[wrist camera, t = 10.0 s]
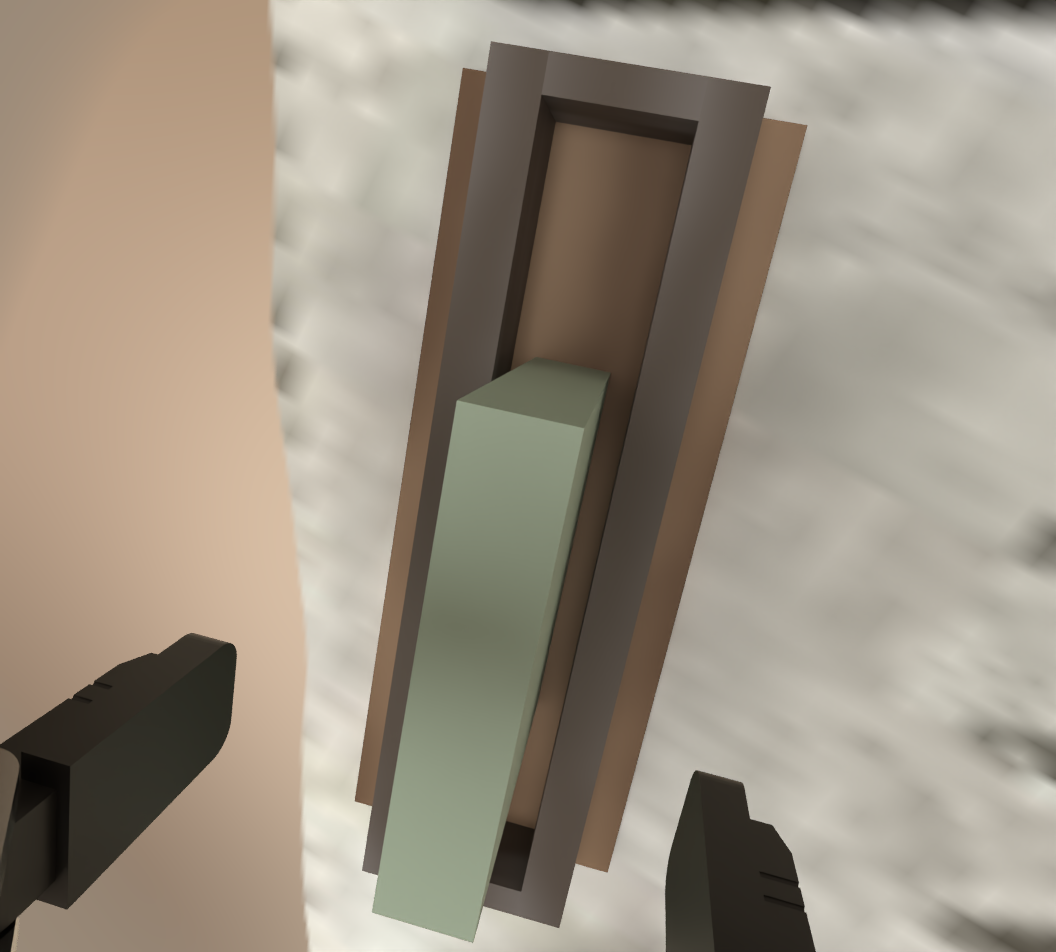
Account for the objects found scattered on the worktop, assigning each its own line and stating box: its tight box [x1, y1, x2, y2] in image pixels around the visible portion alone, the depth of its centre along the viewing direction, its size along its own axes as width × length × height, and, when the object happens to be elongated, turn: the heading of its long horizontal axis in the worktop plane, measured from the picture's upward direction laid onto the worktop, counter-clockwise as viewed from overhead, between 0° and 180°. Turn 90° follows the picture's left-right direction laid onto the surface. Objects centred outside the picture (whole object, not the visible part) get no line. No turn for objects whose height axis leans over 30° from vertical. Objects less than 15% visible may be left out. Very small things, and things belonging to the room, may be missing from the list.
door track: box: [355, 42, 807, 928], centre depth 23 cm, size 10×26×4 cm, turn 169°
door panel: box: [372, 357, 611, 943], centre depth 20 cm, size 2×12×10 cm, turn 169°
